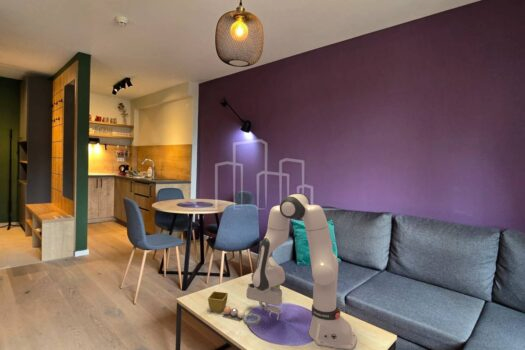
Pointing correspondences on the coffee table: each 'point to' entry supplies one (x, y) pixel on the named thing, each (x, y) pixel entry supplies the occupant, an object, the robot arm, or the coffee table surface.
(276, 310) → the origami figure
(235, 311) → the steel ball
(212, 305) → the flower pot
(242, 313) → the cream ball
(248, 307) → the coffee table surface
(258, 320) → the race ring
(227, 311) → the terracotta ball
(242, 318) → the parts mat
